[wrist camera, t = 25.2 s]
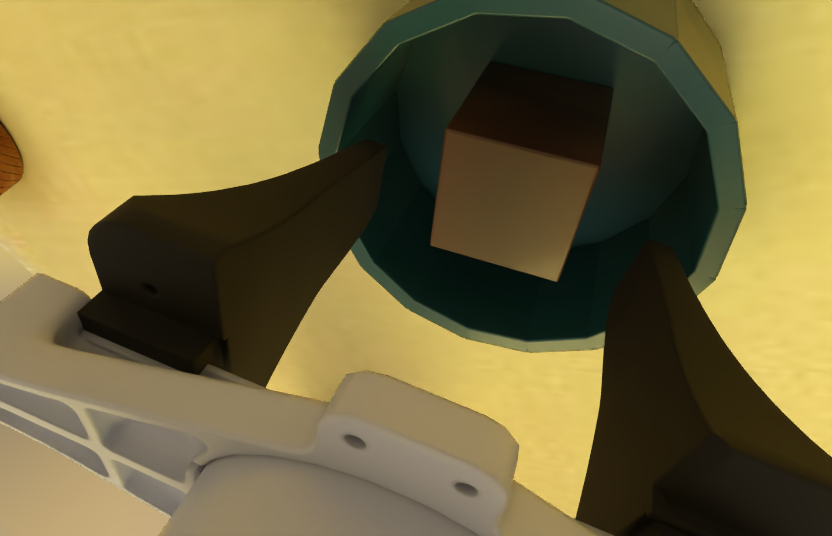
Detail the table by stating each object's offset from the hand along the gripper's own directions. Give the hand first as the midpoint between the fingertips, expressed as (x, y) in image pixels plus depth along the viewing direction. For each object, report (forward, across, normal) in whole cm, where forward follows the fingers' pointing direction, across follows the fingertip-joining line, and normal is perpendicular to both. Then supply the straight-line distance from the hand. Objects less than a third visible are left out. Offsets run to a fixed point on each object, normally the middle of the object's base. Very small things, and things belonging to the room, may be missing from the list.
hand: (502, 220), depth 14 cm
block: (+5, 0, 0) cm, 5 cm away
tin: (+6, 0, 0) cm, 6 cm away
